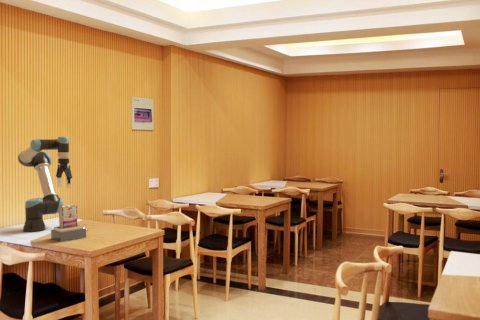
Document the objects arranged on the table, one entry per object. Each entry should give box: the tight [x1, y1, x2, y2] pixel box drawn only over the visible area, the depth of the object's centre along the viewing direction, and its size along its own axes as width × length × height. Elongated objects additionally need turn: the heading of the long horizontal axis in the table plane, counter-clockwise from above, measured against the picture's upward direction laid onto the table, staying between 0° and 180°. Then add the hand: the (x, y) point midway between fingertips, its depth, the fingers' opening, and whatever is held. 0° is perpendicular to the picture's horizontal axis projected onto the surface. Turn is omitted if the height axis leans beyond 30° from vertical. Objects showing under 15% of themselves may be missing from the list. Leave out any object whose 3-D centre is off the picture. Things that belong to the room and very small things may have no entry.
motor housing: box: [50, 223, 89, 243], centre depth 315 cm, size 14×23×8 cm, turn 137°
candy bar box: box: [58, 204, 78, 229], centre depth 313 cm, size 11×5×16 cm, turn 145°
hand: (64, 187), depth 330 cm, fingers open, 13 cm apart
